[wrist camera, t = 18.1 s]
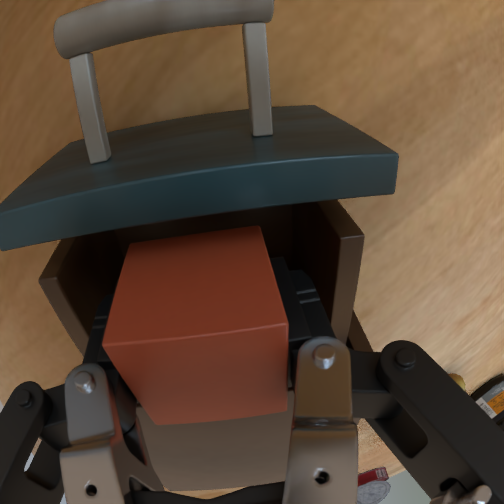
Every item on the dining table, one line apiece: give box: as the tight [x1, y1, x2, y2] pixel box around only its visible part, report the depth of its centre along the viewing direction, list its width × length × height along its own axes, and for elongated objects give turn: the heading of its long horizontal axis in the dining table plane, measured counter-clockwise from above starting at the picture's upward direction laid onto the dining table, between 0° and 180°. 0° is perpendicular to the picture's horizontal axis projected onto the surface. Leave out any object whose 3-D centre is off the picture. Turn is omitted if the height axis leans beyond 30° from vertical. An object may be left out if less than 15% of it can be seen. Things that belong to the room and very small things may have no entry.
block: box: [102, 225, 289, 425], centre depth 9 cm, size 4×4×4 cm
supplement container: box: [471, 374, 504, 431], centre depth 37 cm, size 10×10×12 cm
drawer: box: [0, 0, 399, 357], centre depth 12 cm, size 18×11×7 cm, turn 4°
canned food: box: [357, 467, 391, 504], centre depth 57 cm, size 11×10×10 cm
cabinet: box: [136, 310, 373, 491], centre depth 19 cm, size 15×13×9 cm
